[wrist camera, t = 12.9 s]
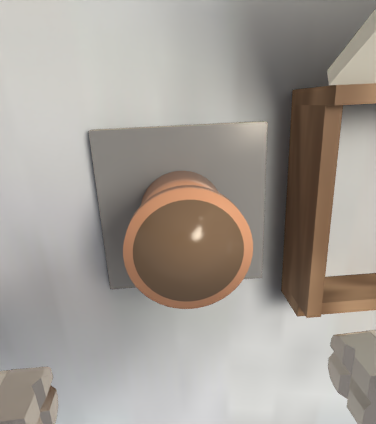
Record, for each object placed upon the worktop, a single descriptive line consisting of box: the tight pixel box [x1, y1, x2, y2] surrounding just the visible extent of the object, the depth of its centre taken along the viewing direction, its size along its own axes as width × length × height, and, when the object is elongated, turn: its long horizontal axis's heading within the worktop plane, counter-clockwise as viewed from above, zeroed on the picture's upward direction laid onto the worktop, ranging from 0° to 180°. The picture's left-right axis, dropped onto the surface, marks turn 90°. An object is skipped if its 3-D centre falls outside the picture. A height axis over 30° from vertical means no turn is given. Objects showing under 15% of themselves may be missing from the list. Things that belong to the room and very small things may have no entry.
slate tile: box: [88, 121, 267, 289], centre depth 24 cm, size 12×12×1 cm
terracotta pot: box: [123, 171, 253, 309], centre depth 20 cm, size 7×7×7 cm
